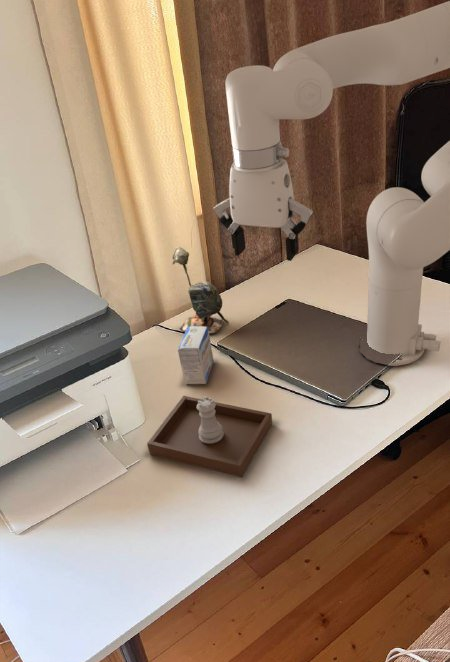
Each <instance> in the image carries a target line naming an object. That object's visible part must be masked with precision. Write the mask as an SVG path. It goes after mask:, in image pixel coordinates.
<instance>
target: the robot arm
mask: <svg viewBox="0 0 450 662" xmlns="http://www.w3.org/2000/svg"><path fill="white" fill-rule="evenodd" d="M448 69H450V0H448V1H445V2H443V3H440V4H437V5H434V6H432V7H428V8H425V9H423V10H421V11H418V12H417V11H416V12H415V13H412V14H409V15H406V16H403V17H400V18H396V19H394V20H391V21H388V22H385V23H384V22H383V23H380V24H379V23H378V24H374V25H371V26H368V27H363V28H360V29H356V30H351V31H347V32H342V33H338V34H334V35H331V36H328V37H325V38H322V39H319V40H317V41H316V40H315V41H314V42H310V43H308V44H305V45H302V46H300V47H297V48H295V49H294V48H293V49H292V50H290V51H288V52H286V53H285V54H284V55H282V56H281V57H280V58H279V59H278V60H277V62H275V65H274V66H273V69H272V68H271V67H269V66H267V65H261V64H260V65H256V64H255V65H247V66H242V67H238V68H236V69H234V70H232V71H230V72H229V73H228V74H227V76H226V78H225V81H224V83H225V84H224V85H225V94H226V104H227V112H228V123H229V131H230V139H231V148H232V150H231V151H232V158H233V162H232V164H231V165H230V172H229V190H228V191H229V197H228V198H226V199H224V200H222V201H221V202H219V203H217V204H216V205H215V206H214V207H213V210H214V212H215V214H216V216H217V218H218V219H219V222H220V224H221V225H222V226H224V228H226V229H227V233H228V234H229V235H230V237H231V244H232V246H231V247H232V249H234V255H235V256H236V257H239V256H241V254H242V253H243V252H244V251H245V250H246V248H247V247H246V238H245V230H244V228H243V227H242V226H247V227H248V226H249V227H259V228H261V227H262V228H273V229H275V228H278V229H279V228H280V229H281V230H282V232H283V233H284V235H286V236H287V237H286V238H285V242H284V243H285V256H286V260H287V262H292V261H293V259H294V258H295V256H296V255H297V254H298V253H299V250H300V249H299V248H300V247H299V244H300V243H299V234H300V233H302V231H303V230H304V229H305V228H306V227H307V225H308V223H309V221H310V220H311V217H312V215H313V214H314V212H313V210H312V209H311V208H309V207H308V206H306V205H304V204H302V203H301V202H299V201H297V200H295V194H294V188H293V182H292V177H291V172H290V168H289V164H288V161H287V160H286V159H284V158H288V157H289V156H290V149H289V148H288V147H284V146H283V144H282V141H281V133H280V120H309V119H313V118H316V117H318V116H319V115H322V113H324V112H325V111H326V110H327V108H328V107H329V106H330V104H331V101H332V99H333V95H334V90H335V89H338V88H341V87H345V86H346V87H347V86H350V85H358V84H359V85H360V84H362V85H363V84H367V85H368V84H369V85H377V86H378V85H379V86H401V85H405V84H408V83H411V82H413V81H417V80H419V79H423V78H424V77H427V76H430V75H434V74H436V73H439V72H443V71H445V70H448ZM420 179H421V184H422V186H423V189H424V190H425V191H426V193H427V194H428V195H429V196H430V197H429V198H427V200H425V201H424V200H423V199H422V198H421V197H420V196H419V195H418V194H416V193H415V192H414V191H412V190H410V189H408V188H405V187H400V186H397V187H395V186H394V187H389V188H387V189H384V190H383V191H381V192H380V193H378V194H377V195H376V196H375V197H374V198H373V200H372V202H371V203H370V205H369V207H368V210H367V213H366V222H365V223H366V237H367V247H368V282H367V284H368V285H367V286H368V287H367V320H366V322H367V323H366V324H367V325H366V332H367V343H368V345H369V347H371V348H372V349H374V350H376V351H378V352H380V353H385V354H394V355H395V354H399V353H400V354H401V353H402V354H403V355H402V356H401V357H400V358H399V359H398V360H396V362H394V363H390V365H388V366H387V367H398V366H399V367H400V366H404V365H408V364H411V363H414V362H416V361H417V360H419V359H420V358H421V357H422V356H423V354H424V352H425V350H429V351H435V352H439V351H440V349H441V340H437V334H433V333H425V332H424V331H422V327H423V325H422V324H421V323H420V324H419V320H420V310H421V309H420V308H421V297H422V286H423V284H422V283H423V278H424V277H423V275H424V268H425V267H427V266H429V265H431V264H433V263H435V262H436V261H437V260H439V259H440V258H441V257H443V256H444V255H446V253H448V252H449V251H450V140H448V141H447V142H446V143H445V144H443V146H442V147H440V148H439V149H438V150H437V151H436V152H435V153H434V154H433V155H431V156H430V157H429V159H427V161H426V162H425V163H424V165H423V168H422V170H421V178H420ZM229 208H230V209H229ZM227 209H229V210H230V214H229V213H228V211H227ZM295 214H297V215H298V216H300V220H299V222H296V221H295V220H294V218H293V217H294V216H295ZM362 340H363V339H362Z"/></svg>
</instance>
